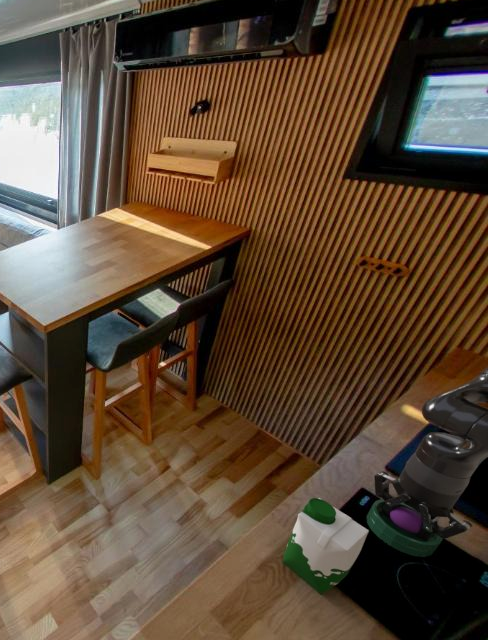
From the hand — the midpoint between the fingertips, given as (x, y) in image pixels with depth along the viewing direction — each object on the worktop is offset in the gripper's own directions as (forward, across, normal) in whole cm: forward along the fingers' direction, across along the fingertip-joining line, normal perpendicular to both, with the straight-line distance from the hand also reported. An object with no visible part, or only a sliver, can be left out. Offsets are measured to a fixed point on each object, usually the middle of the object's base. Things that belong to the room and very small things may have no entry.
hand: (403, 525), depth 82 cm
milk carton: (+4, +3, +25) cm, 25 cm away
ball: (-2, 0, 0) cm, 2 cm away
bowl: (+4, 0, 0) cm, 4 cm away
